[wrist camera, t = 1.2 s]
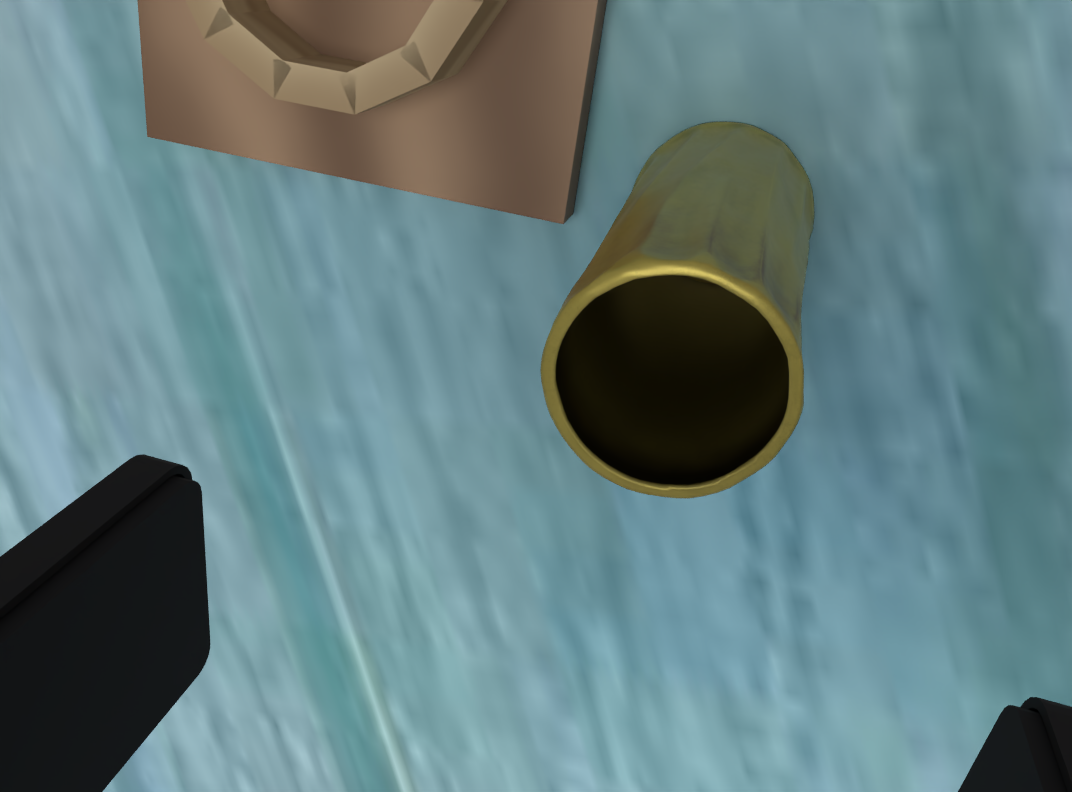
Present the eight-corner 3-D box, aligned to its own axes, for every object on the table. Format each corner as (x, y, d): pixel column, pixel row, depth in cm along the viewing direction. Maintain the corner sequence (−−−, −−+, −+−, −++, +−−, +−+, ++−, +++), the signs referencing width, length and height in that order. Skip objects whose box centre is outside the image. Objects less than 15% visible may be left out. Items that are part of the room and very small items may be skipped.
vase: (853, 182, 28) (901, 347, 16) (745, 330, 31) (714, 568, 19) (690, 84, 28) (609, 173, 16) (599, 243, 31) (470, 422, 19)
